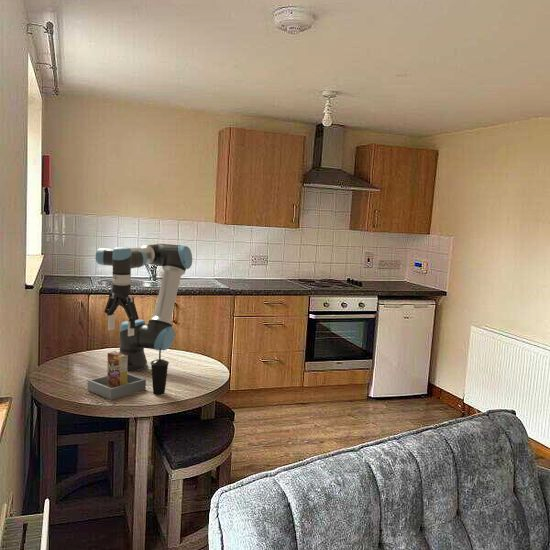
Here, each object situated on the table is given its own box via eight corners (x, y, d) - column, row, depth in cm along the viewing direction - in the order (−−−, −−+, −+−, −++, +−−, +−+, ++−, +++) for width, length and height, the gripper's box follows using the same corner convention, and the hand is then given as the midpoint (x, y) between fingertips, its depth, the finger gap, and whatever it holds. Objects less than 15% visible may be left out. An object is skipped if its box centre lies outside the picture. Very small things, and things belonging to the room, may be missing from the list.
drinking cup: (151, 389, 235) (152, 345, 232) (168, 390, 235) (170, 345, 233) (148, 396, 227) (149, 350, 225) (166, 396, 228) (168, 350, 225)
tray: (87, 390, 230) (87, 380, 229) (122, 381, 244) (122, 371, 244) (110, 399, 220) (111, 389, 220) (145, 389, 235) (145, 379, 234)
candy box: (106, 386, 233) (106, 352, 231) (114, 384, 236) (115, 350, 234) (119, 391, 228) (120, 356, 226) (127, 389, 231) (128, 354, 229)
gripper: (96, 280, 232) (95, 328, 235) (133, 288, 217) (132, 339, 220) (110, 279, 238) (110, 326, 241) (147, 287, 223) (146, 336, 226)
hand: (120, 332), depth 231 cm, fingers open, 13 cm apart
